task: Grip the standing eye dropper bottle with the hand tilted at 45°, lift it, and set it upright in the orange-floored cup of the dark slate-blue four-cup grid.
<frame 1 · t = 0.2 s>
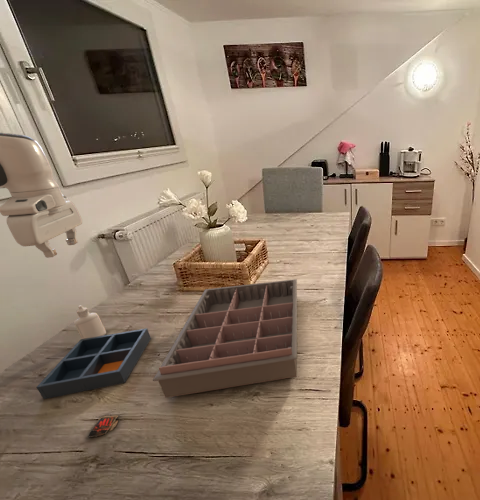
hand: (63, 250, 78), 30 cm above the table, tool pointing down, fingers open, 8 cm apart
eye dropper bottle: (95, 338, 89), on the table
organizer tray: (247, 339, 86), on the table
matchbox: (105, 426, 61), on the table
grid: (104, 365, 78), on the table
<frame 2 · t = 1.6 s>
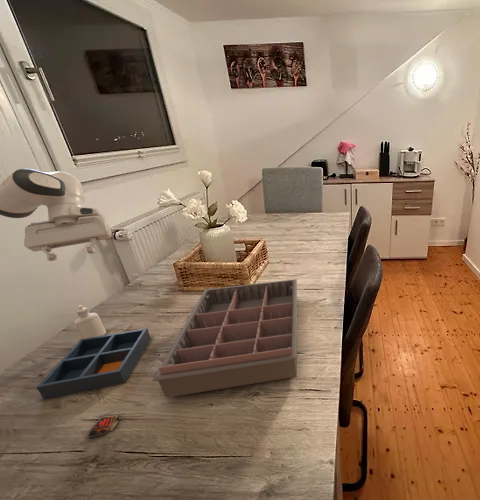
hand: (72, 256, 87), 25 cm above the table, tool tilted 45°, fingers open, 8 cm apart
nothing on the table moved.
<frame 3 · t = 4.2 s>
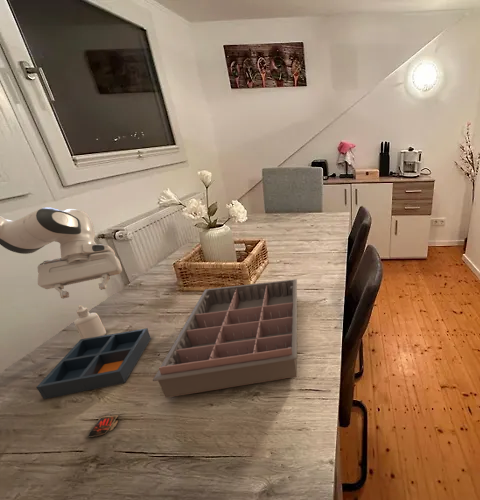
hand: (84, 293, 89), 13 cm above the table, tool tilted 45°, fingers open, 8 cm apart
nothing on the table moved.
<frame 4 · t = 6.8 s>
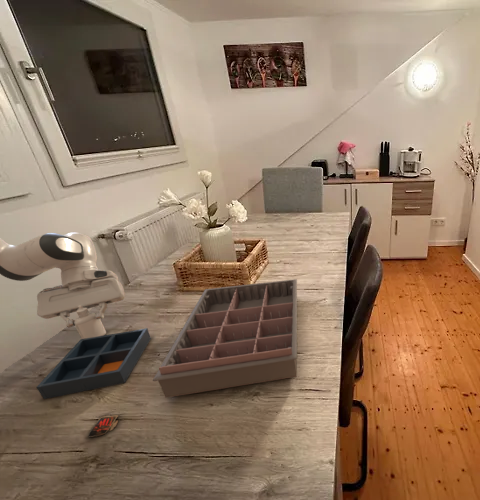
hand: (86, 322, 85), 7 cm above the table, tool tilted 45°, fingers closed on eye dropper bottle, 5 cm apart
eye dropper bottle: (95, 337, 89), on the table, touching gripper
everything else where it was.
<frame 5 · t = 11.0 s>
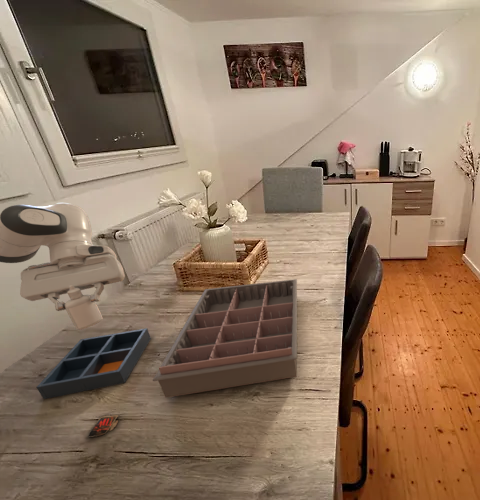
hand: (79, 305, 73), 18 cm above the table, tool tilted 45°, fingers closed on eye dropper bottle, 5 cm apart
eye dropper bottle: (90, 324, 76), point 12 cm above the table, touching gripper
everything else where it was.
when the fingers open (7 cm above the table, at t = 15.6 s): eye dropper bottle stays where it is, resting on grid.
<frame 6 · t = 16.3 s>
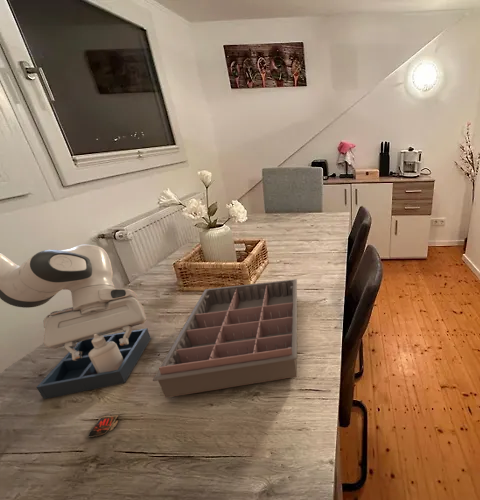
hand: (101, 352, 72), 8 cm above the table, tool tilted 45°, fingers open, 8 cm apart
eye dropper bottle: (113, 370, 75), point 1 cm above the table, touching grid
everything else where it was.
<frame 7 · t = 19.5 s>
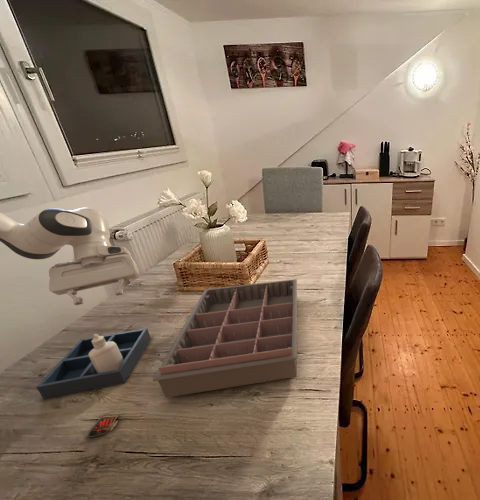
hand: (99, 299, 82), 15 cm above the table, tool tilted 45°, fingers open, 8 cm apart
nothing on the table moved.
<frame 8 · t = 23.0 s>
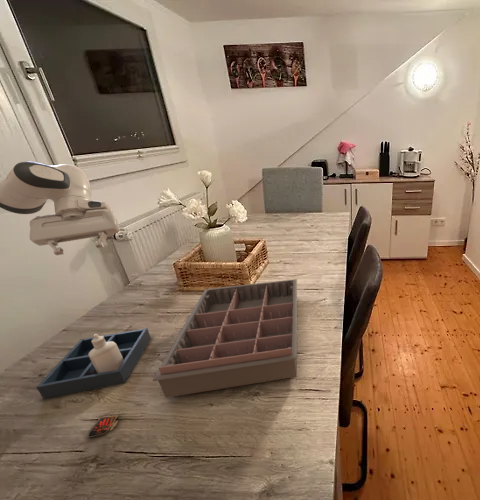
hand: (79, 250, 84), 27 cm above the table, tool tilted 45°, fingers open, 8 cm apart
nothing on the table moved.
at the end: eye dropper bottle 0.5 cm from the target spot in the grid, point 0.5 cm above the grid's base; eye dropper bottle tilted 0°; the gripper is holding nothing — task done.
